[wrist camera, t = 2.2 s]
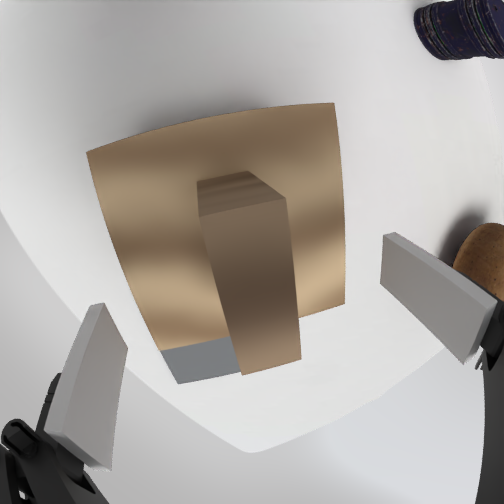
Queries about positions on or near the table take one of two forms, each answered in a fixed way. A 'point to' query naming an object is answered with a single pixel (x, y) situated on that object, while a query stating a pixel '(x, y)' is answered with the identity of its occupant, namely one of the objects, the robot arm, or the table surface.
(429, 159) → the table surface
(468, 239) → the vase
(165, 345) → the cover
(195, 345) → the mat
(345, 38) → the table surface
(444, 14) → the dark blue cylinder
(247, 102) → the table surface
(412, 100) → the table surface
